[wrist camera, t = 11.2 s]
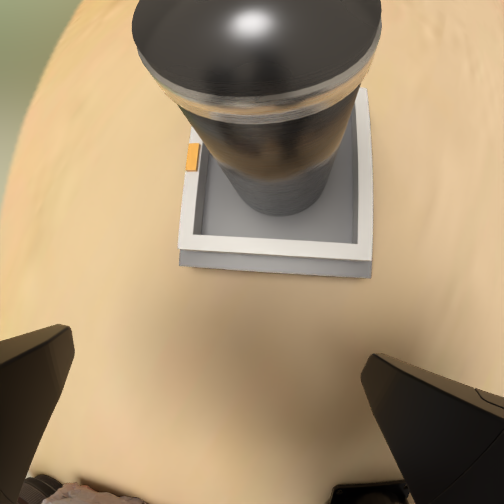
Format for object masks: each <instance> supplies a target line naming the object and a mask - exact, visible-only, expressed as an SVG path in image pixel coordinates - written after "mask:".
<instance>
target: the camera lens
mask: <svg viewBox="0 0 504 504" xmlns="http://www.w3.org/2000/svg"><path fill="white" fill-rule="evenodd" d="M62 487H63V485H61V484H60V483H59V482H58V481H56V480H54V479H53V478H51V477H49V476H46V475H38V476H37V477H35V478H31V477H29V478H27V479H25V480H24V483H23V486H22V489H21V491H20V494H19V497H18V500H17V503H16V504H41V503H42V502H43V500H44V499H46V498H49V497H50V496H51V495H53V494H54V493H55V492H56V491H57V490H58V489H59V488H62Z"/></svg>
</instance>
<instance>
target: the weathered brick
mask: <svg viewBox="0 0 504 504" xmlns="http://www.w3.org/2000/svg"><path fill="white" fill-rule="evenodd" d="M41 504H146V503H145V502H144V501H143V500H141V499H139V498H136V497H135V498H131V497H127V496H122V497H117V496H116V495H114V494H111V493H108V492H100V493H98V492H96V491H95V490H93V489H92V488H90V487H89V486H88V485H83V486H79V485H78V484H77V482H75V483H65V484H63V487H62V488H59V489H58V490H57V491H56V492H55V493H54V494H53V495H51V496H50V497H49V498H46V499H44V500H43V502H42V503H41Z"/></svg>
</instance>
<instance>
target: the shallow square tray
mask: <svg viewBox="0 0 504 504" xmlns="http://www.w3.org/2000/svg"><path fill="white" fill-rule="evenodd" d="M372 248H373V165H372V144H371V128H370V115H369V103H368V93H367V88H359V91H358V94H357V97H356V100H355V103H354V106H353V109H352V112H351V115H350V118H349V121H348V124H347V127H346V130H345V132H344V135H343V138H342V141H341V144H340V147H339V150H338V152H337V155H336V158H335V161H334V164H333V167H332V169H331V172H330V175H329V178H328V180H327V183H326V186H325V188H324V190H323V192H322V194H321V196H320V197H319V198H318V199H317V201H316V202H315V203H314V204H312V205H311V206H310V207H309V208H307V209H306V210H304V211H302V212H300V213H297V214H294V215H290V216H282V217H281V216H270V215H266V214H262V213H260V212H258V211H256V210H254V209H253V208H251V207H250V206H248V205H247V204H246V203H245V202H244V201H243V200H242V199H241V197H240V196H239V195H238V193H237V192H236V190H235V189H234V187H233V186H232V184H231V183H230V181H229V180H228V178H227V177H226V175H225V174H224V172H223V171H222V169H221V168H220V166H219V165H218V163H217V162H216V160H215V159H214V157H213V156H212V154H211V153H210V152H209V150H208V149H207V147H206V146H205V144H204V143H203V141H202V140H201V138H200V137H199V135H198V134H197V132H196V131H195V130H194V128H193V127H192V128H191V134H190V141H189V147H188V154H187V162H186V171H185V179H184V188H183V197H182V206H181V216H180V226H179V237H178V249H180V257H179V266H187V267H200V268H213V269H227V270H241V271H255V272H270V273H286V274H302V275H319V276H336V277H354V278H371V270H372Z"/></svg>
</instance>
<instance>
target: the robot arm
mask: <svg viewBox="0 0 504 504" xmlns="http://www.w3.org/2000/svg"><path fill="white" fill-rule="evenodd" d="M74 353H75V349H74V343H73V337H72V331H71V328H70V327H69V326H66V325H61V324H56V325H53V326H50V327H46V328H43V329H40V330H36V331H33V332H30V333H26V334H23V335H20V336H16V337H13V338H10V339H6V340H3V341H0V504H16V503H17V500H18V497H19V494H20V491H21V489H22V486H23V483H24V480H25V478H26V475H27V472H28V470H29V467H30V465H31V462H32V459H33V457H34V454H35V452H36V450H37V447H38V445H39V442H40V440H41V438H42V435H43V433H44V431H45V428H46V426H47V424H48V422H49V420H50V417H51V415H52V413H53V411H54V409H55V406H56V404H57V402H58V400H59V398H60V396H61V393H62V390H63V388H64V385H65V382H66V379H67V376H68V373H69V370H70V367H71V364H72V361H73V359H74ZM361 382H362V385H363V387H364V390H365V393H366V396H367V398H368V401H369V404H370V407H371V410H372V412H373V415H374V417H375V419H376V421H377V423H378V425H379V427H380V429H381V431H382V433H383V436H384V438H385V440H386V442H387V444H388V446H389V448H390V450H391V452H392V454H393V456H394V459H395V461H396V463H397V465H398V467H399V469H400V471H401V473H402V476H403V478H404V480H401V481H392V482H382V483H370V484H353V485H337V486H335V487H334V488H333V490H332V494H331V498H330V501H329V504H409V502H408V500H407V498H408V495H409V493H411V495H412V497H413V500H414V502H415V504H504V397H501V396H497V395H494V394H491V393H488V392H485V391H482V390H480V389H477V388H475V389H474V388H473V387H470V386H467V385H464V384H462V383H459V382H456V381H453V380H451V379H448V378H445V377H442V376H440V375H437V374H434V373H432V372H429V371H426V370H424V369H421V368H419V367H416V366H413V365H411V364H408V363H406V362H403V361H401V360H398V359H395V358H393V357H390V356H388V355H385V354H382V353H375V354H371V355H370V356H369V358H368V360H367V362H366V365H365V367H364V369H363V371H362V373H361ZM405 485H407V486H405ZM338 490H342V491H340V492H337V491H338Z"/></svg>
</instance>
